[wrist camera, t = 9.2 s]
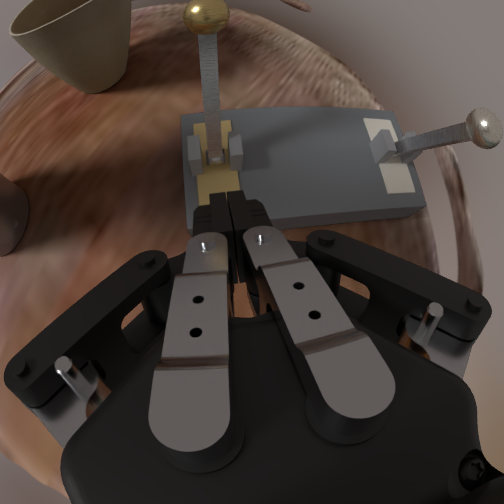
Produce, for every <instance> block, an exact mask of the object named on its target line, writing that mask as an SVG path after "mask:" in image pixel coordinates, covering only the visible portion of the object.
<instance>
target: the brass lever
mask: <svg viewBox="0 0 504 504" xmlns="http://www.w3.org/2000/svg"><path fill="white" fill-rule="evenodd" d="M229 17H230V11H229V8H228V6H227V4H226V3H225V2H224V1H223V0H192V1H191V2H190V3H189V4H188V5H187V6H186V8H185V10H184V12H183V21H184V24H185V26H186V27H187V28H188V29H189V30H190V31H191V32H193V33H195V34H198V42H199V56H200V70H201V82H202V94H203V105H204V116H205V127H206V137H207V147H208V150H206V160H207V165H215V164H224V163H225V151H224V148H222V136H221V118H220V99H219V78H218V54H217V32H219V31H220V30H222V29H223V28H224V27H225V26H226V25H227V23H228V21H229Z"/></svg>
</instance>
